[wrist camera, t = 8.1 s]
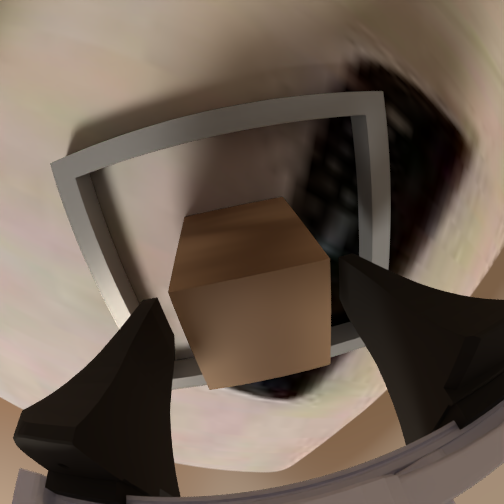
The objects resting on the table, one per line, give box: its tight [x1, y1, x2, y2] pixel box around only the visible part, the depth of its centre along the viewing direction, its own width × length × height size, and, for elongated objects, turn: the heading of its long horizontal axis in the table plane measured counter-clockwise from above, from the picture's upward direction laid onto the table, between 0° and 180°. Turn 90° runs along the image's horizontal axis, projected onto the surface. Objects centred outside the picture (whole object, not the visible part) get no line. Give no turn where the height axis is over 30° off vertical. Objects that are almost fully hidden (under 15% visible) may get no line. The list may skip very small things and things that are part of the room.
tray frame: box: [50, 91, 391, 390], centre depth 14 cm, size 14×14×2 cm
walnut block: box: [168, 197, 331, 390], centre depth 12 cm, size 4×4×6 cm
